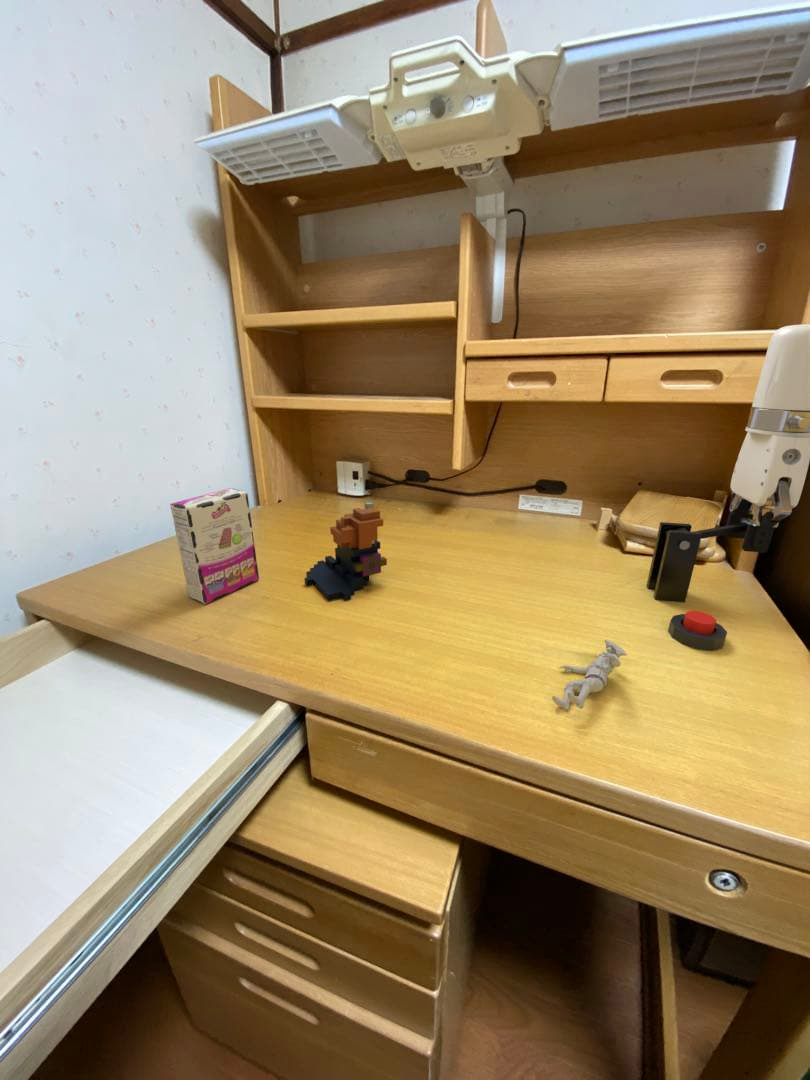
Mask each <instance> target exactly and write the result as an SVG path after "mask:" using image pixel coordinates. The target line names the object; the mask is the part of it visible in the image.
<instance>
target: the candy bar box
mask: <svg viewBox="0 0 810 1080" xmlns="http://www.w3.org/2000/svg"><path fill="white" fill-rule="evenodd" d="M169 504H170V510H171V515H172V520H173V525H174V529H175V535H176V539H177V545H178V549H179V554H180V560H181V563H182V570H183V574H184V579H185V585H186V590H187V595H188V598H190V599H192V600H193V601H197V602H199V603H201V604H204V605H208V604H211V603H212V602H215V601H217V600H219V599H221V598H223V597H226V596H228V595H230V594H232V593H234V592H236V591H238V590H241V589H242V588H244V587H246V586H249V585H251V584H253V583H255V582H257V581H259V580H260V576H259V575H260V574H259V568H258V560H257V554H256V547H255V540H254V538H255V537H254V533H253V532H254V530H253V524H252V517H251V509H250V501H249V495H248V491H246V490H240V489H235V488H231V487H229V488H226V489H221V490H219V491H214V492H211V493H210V492H209V493H207V494H202V495H199V496H195V497H191V498H188V499H183V500H180V501H176V502H172V503H169Z"/></svg>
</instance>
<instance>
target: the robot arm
mask: <svg viewBox="0 0 810 1080" xmlns="http://www.w3.org/2000/svg"><path fill="white" fill-rule="evenodd" d="M758 379H759V380H758V383H757V387H756V390H755V393H754V397H753V401H752V405H751V407H750V411H749V415H748V419H747V423H746V426H745V429H744V431H745V432H746V435H745V436H744V439H743V442H742V445H741V448H740V451H739V453H738V456H737V459H736V462H735V465H734V468H733V472H732V475H731V480H730V485H729V486H730V487H729V488H730V491H731V496H730V498H731V503H730V505H729V514H728V517H727V522H726V525H725V526H728V525H733V524H739V523H738V519H739V518H740V517H743V516H745V517H748V518H749V519H751V520H752V524H748V527H747V531H744V532H738V533H732V534H726V535H723V536H724V537H726V538H731V539H743V541H742V545H741V550H742V551H744V552H751V553H762V554H763V553H767V552H768V550H769V547H770V544H771V541H772V538H773V534H774V531H775V529H777V528H778V527H779V524H780V523H781V522H782V521H783V519H785V518H787V517H788V516H790V515H791V514H792V512H793V509H795V507H797V506H798V504H799V501H800V499H801V496H802V492H803V489H804V486H805V481H806V478H807V473H808V470H809V465H810V323H807V324H806V323H804V324H791V325H785V326H782V327H780V328H778V329H777V330H775V331H774V333H773V334H772V336H771V338H770V340H769V343H768V346H767V350H766V354H765V358H764V361H763V365H762V368H761V372H760V376H759V378H758ZM767 502H772V504H767ZM764 510H770V511H766V512H765V513H764V514H763V511H764Z"/></svg>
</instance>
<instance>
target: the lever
mask: <svg viewBox="0 0 810 1080" xmlns="http://www.w3.org/2000/svg"><path fill="white" fill-rule="evenodd" d="M738 523H739V524H733V525H728V526H726V525H723V526H717V527H712V528H707V529H699V530H695V531H693V532H700V533H701V534H702V537H701V540H703V539H709V538H714V537H719V536H724V535H726V534H732V533H738V532H744V531H747V527H748V524H752V520H751V519H749V518H748V517H745V516H743V517H740V518H739V519H738ZM674 531H687V530H686V529H685V528H681V529H675V530H674ZM667 534H668V531H665V535H666V538H667Z"/></svg>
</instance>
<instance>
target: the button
mask: <svg viewBox="0 0 810 1080" xmlns="http://www.w3.org/2000/svg"><path fill="white" fill-rule="evenodd" d="M684 614H685V617H684V621H683V626H684V627H685V628H687V629H688V630H690V631H692V632H696V633H699V634H707V635H710V634H712V633H713V631H714V628H715V624H716V623H717V619H716V618H715V616H713V615H711V614H709V613H706V612H704V611H700V610H688V611H686V612H685V613H684Z"/></svg>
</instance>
